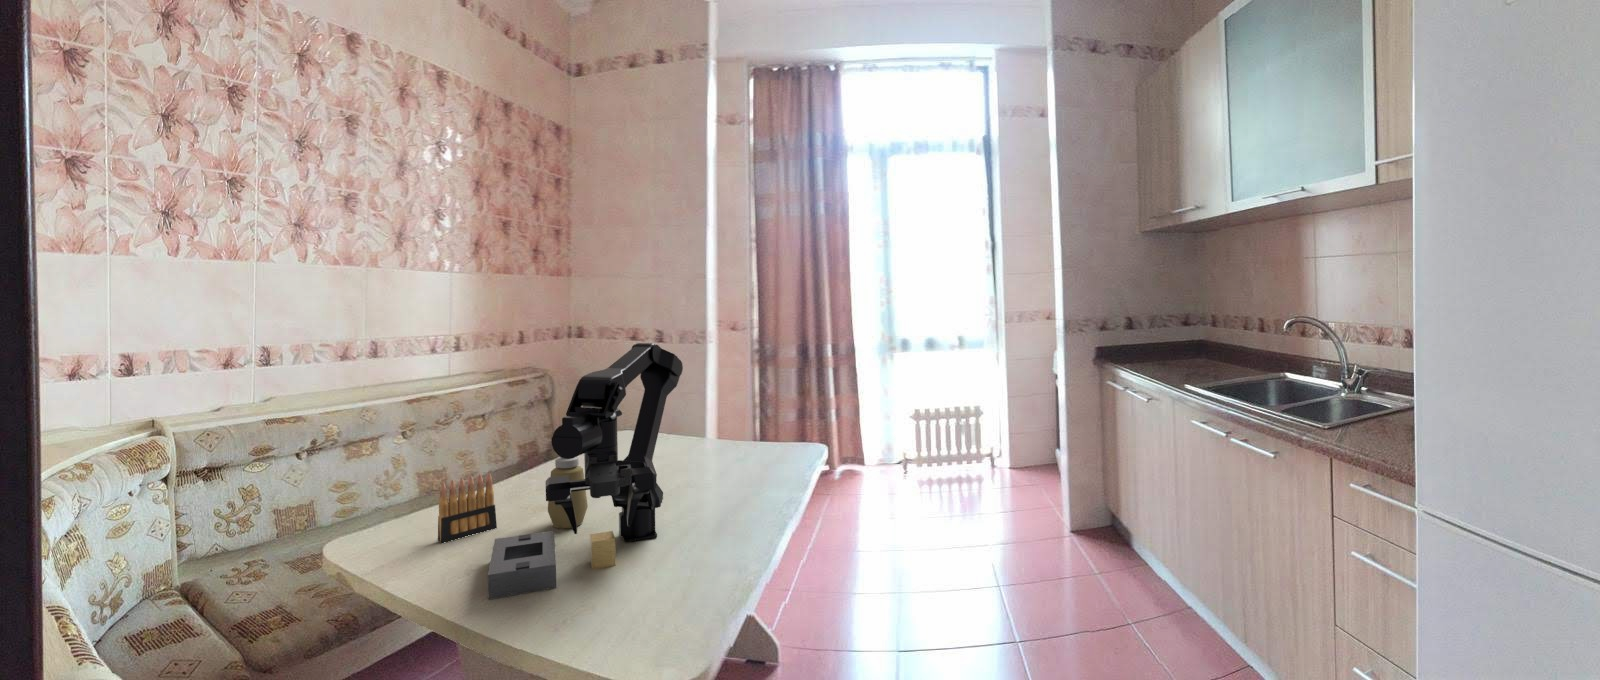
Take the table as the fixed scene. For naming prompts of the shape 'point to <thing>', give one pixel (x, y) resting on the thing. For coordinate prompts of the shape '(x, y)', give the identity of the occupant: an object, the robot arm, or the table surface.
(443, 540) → the ammunition clip
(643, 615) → the table surface
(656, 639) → the table surface
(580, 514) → the squeeze bottle
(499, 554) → the grey socket block
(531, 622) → the table surface
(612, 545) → the tan wooden block
